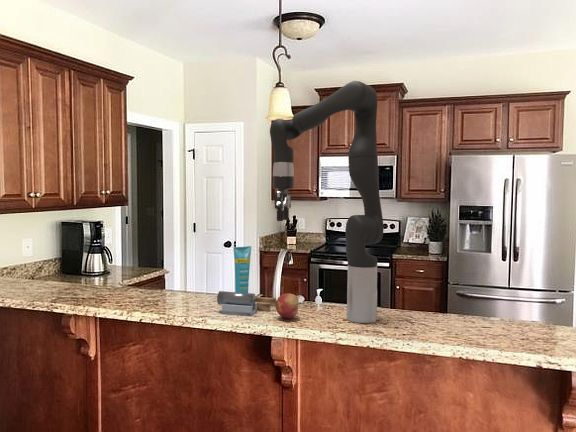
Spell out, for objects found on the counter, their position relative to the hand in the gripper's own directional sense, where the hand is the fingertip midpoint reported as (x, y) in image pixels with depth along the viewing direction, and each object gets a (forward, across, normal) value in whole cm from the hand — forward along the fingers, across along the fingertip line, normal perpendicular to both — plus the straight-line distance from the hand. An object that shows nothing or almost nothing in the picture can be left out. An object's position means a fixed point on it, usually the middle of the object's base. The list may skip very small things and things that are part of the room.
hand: (282, 220), depth 170 cm
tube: (+30, -8, -18) cm, 36 cm away
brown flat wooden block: (+30, +9, -7) cm, 32 cm away
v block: (+30, +18, -10) cm, 36 cm away
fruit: (+30, +21, +7) cm, 38 cm away
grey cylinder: (+26, +18, -11) cm, 33 cm away
